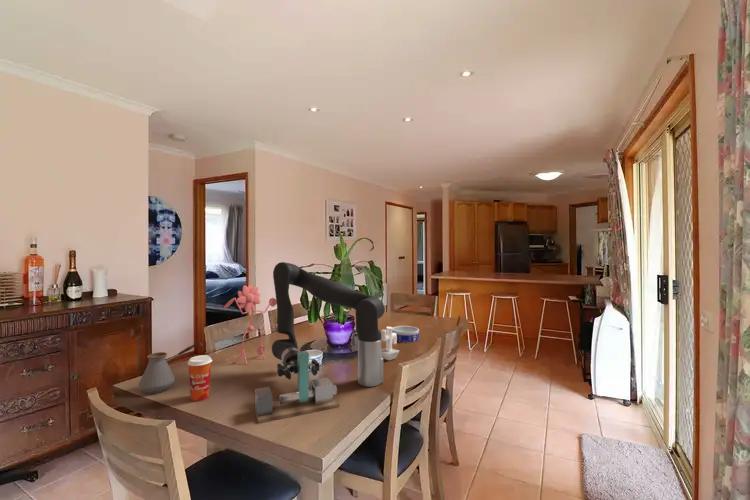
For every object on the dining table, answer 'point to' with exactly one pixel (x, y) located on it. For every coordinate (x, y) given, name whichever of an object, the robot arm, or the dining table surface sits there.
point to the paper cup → (199, 377)
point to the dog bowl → (406, 333)
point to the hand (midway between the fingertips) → (302, 374)
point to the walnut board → (295, 409)
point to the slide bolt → (302, 383)
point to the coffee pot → (159, 372)
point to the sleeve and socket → (320, 385)
